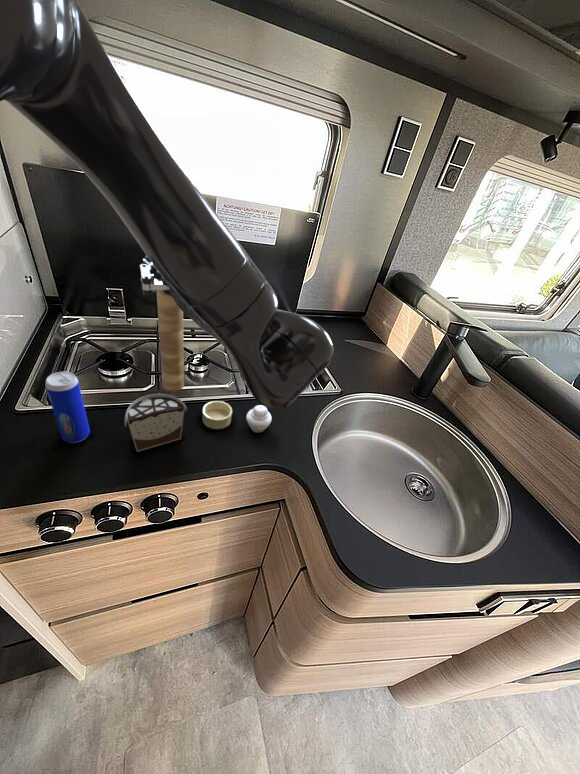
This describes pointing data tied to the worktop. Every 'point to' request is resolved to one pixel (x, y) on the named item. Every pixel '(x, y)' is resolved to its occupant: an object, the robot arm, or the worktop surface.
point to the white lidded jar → (258, 418)
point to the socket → (217, 414)
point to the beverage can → (68, 406)
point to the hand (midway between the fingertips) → (161, 261)
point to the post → (171, 342)
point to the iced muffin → (155, 420)
